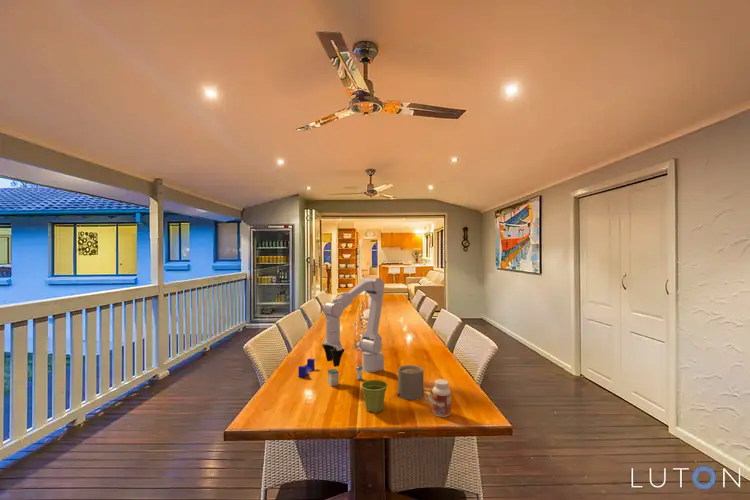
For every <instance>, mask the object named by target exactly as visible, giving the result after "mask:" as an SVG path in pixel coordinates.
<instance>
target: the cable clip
mask: <svg viewBox="0 0 750 500" xmlns="http://www.w3.org/2000/svg"><path fill="white" fill-rule="evenodd" d="M315 360H316V359H315V358H307V360H306V361H307V362H306V364H305V365H299V366H298V378H307V376H309V374H310V373H311V372H312V371H315Z"/></svg>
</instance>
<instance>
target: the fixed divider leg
mask: <svg viewBox="0 0 750 500" xmlns="http://www.w3.org/2000/svg"><path fill="white" fill-rule="evenodd" d="M355 369H356V381H363V365H362V366H361V365H357V366H355Z"/></svg>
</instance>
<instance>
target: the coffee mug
mask: <svg viewBox="0 0 750 500" xmlns="http://www.w3.org/2000/svg"><path fill="white" fill-rule="evenodd" d="M397 391H398V392H397V395H398V397H399V398H401V399H403V400H408V401H417V400H420V399H422V398H423V397H424V368H423V367H421V366H419V365H413V364H405V365H401V366H399V367H397Z"/></svg>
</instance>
